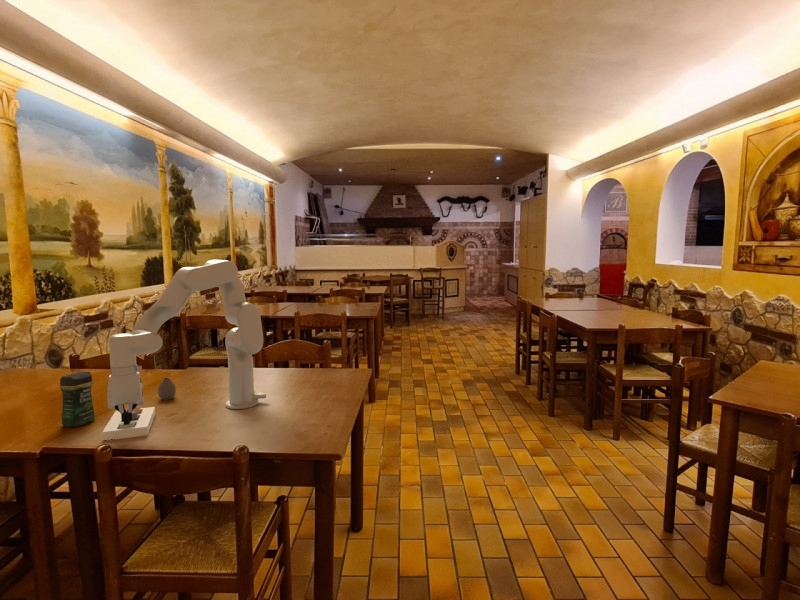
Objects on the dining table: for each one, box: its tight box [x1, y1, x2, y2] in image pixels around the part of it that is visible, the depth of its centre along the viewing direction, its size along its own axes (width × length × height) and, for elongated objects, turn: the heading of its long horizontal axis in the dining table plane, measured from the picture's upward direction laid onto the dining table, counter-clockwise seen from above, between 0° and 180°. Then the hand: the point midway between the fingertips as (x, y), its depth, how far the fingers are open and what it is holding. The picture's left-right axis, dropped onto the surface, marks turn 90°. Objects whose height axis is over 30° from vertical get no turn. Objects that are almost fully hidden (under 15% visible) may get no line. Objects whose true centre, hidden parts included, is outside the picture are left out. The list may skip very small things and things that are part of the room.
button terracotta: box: [126, 405, 141, 414], centre depth 170 cm, size 4×4×3 cm
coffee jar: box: [59, 370, 96, 428], centre depth 167 cm, size 10×8×19 cm
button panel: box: [101, 406, 156, 441], centre depth 164 cm, size 13×22×3 cm, turn 22°
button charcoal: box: [132, 411, 139, 421], centre depth 164 cm, size 4×4×3 cm
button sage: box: [119, 421, 136, 429], centre depth 158 cm, size 4×4×3 cm
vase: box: [157, 377, 177, 401], centre depth 196 cm, size 7×7×9 cm
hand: (127, 423), depth 157 cm, fingers closed
